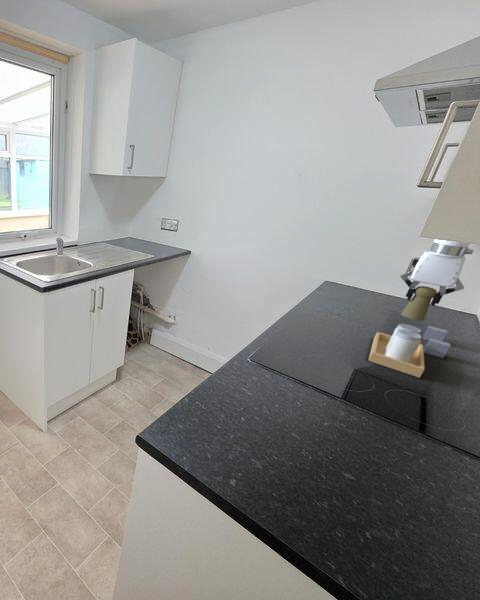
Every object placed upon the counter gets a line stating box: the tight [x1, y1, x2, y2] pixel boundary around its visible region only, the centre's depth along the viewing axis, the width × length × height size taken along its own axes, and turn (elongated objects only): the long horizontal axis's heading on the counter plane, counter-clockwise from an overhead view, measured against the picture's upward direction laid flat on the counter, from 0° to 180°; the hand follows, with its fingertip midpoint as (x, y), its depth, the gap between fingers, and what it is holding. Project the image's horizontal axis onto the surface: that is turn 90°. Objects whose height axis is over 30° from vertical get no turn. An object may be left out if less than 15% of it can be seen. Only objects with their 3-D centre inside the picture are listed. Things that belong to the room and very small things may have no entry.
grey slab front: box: [423, 338, 451, 359], centre depth 112 cm, size 5×3×5 cm, turn 45°
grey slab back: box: [422, 325, 448, 342], centre depth 122 cm, size 5×3×5 cm, turn 45°
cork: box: [400, 285, 438, 322], centre depth 107 cm, size 6×6×11 cm
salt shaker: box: [384, 330, 423, 363], centre depth 103 cm, size 6×6×11 cm
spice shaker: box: [384, 323, 422, 353], centre depth 107 cm, size 6×6×11 cm
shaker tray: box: [367, 331, 426, 378], centre depth 109 cm, size 13×23×3 cm, turn 135°
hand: (420, 301), depth 107 cm, fingers closed on cork, 5 cm apart
